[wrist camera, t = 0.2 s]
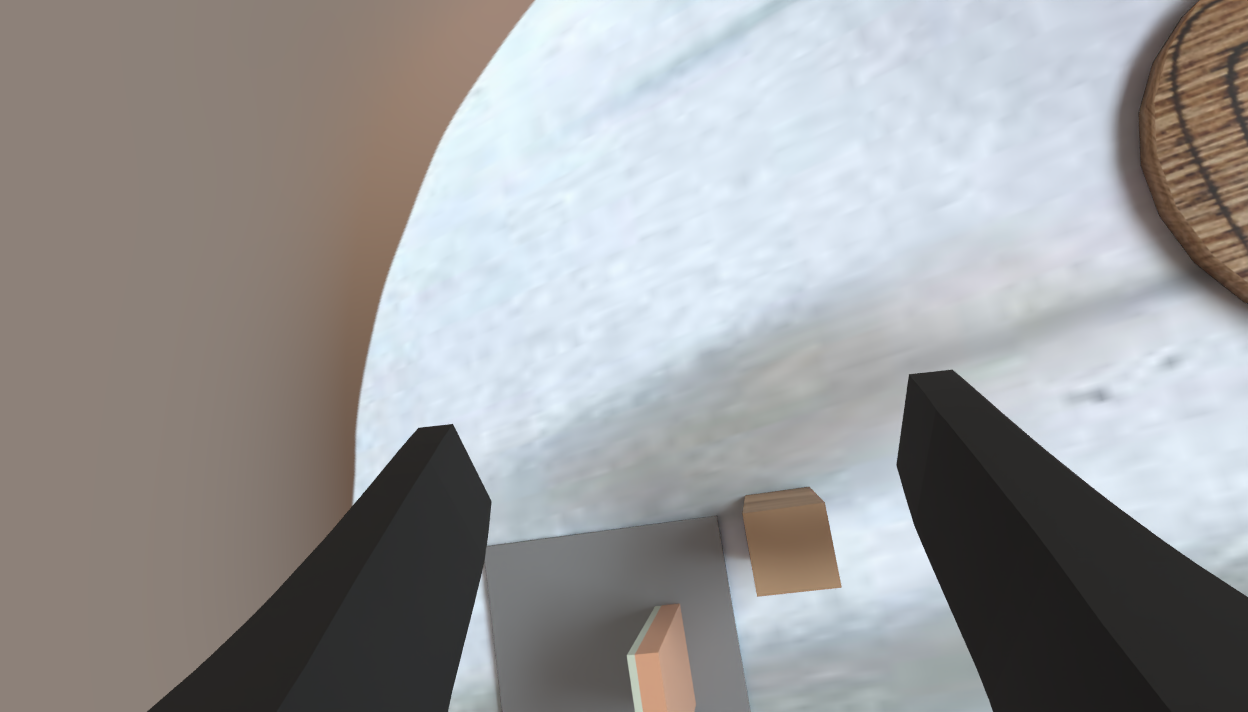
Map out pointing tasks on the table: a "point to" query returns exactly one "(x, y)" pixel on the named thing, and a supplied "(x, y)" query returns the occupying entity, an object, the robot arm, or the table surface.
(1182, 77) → the trivet
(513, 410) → the table surface
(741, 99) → the table surface
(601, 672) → the rubber mat
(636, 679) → the flat slab
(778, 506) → the wooden block
